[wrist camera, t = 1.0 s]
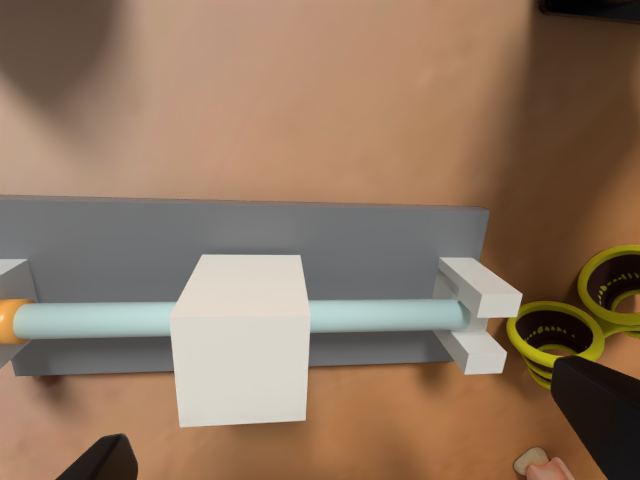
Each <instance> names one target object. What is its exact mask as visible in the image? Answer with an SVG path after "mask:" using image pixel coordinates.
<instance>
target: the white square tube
mask: <svg viewBox="0 0 640 480" xmlns="http://www.w3.org/2000/svg"><path fill="white" fill-rule="evenodd" d="M310 319H311V314H310V308H309V302H308V296H307V291H306V285H305V279H304V273H303V268H302V262H301V256H300V255H202V256H201V258H200V260H199V262H198V264H197V265H196V267H195V269H194V271H193V273H192V275H191V277H190V279H189V281H188V282H187V284H186V286H185V288H184V290H183V292H182V294H181V296H180V297H179V299H178V301H177V303H176V305H175V307H174V309H173V311H172V312H171V314H170V316H169V322H170V332H171V342H172V352H173V363H174V373H175V383H176V393H177V403H178V413H179V423H180V427H194V426H213V425H232V424H250V423H269V422H288V421H306V400H307V380H308V360H309V340H310Z"/></svg>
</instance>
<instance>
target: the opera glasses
mask: <svg viewBox="0 0 640 480" xmlns="http://www.w3.org/2000/svg"><path fill="white" fill-rule="evenodd" d="M638 254H639V255H638ZM616 256H617V257H616ZM593 270H594V271H593ZM577 288H578V292H579V296H580V298H581V300H582V302H583V303H584V305H585V306H586V307H587V308H588V309H589V310H590V311H591V312H592V313H593V316H592V317H591V316H590V315H588V314H587V313H585V312H584V311H582V310H580V309H578V308H576V307H574V306H571V305H568V304H565V303H561V302H555V301H535V302H530V303H527V304H524V305H521V306H520V307H519V310H518V314H517V317H508V320H507V323H506V331H507V334H508V337H509V339H510V341H511V343H512V344H513V346H514V347H515V348H516V349H517V350H518V351H519V352H520V353H521V355H522V357H523V359H524V360H525V362H526V363H527V366H528V370H529V373H530V375H531V376H532V377H533V379H534V380H535V381H536V382H537V383H538V384H540V385H541V386H543V387H544V388H547V389H549V390H550V385H551V378H552V371H553V364H554V361H555V360H556V359H557V358H559V357H564V356H555V355H551V354H547V353H544V352H542V351H545V350H548V349H558V350H563V351H566V352H568V353H570V354H572V355H577V356H580V357H583V358H585V359H588V360H590V361H593V362H595V361H596V360H597V359H598V358H599V357H600V356H601V355H602V352H603V350H604V347H605V340H604V339H605V338H606V337H608V336H610V335H612V334H614V333H618V332H622V333H624V334H626V335H628V336H631V337H634V338H639V339H640V312H639V313H632V314H626V313H616V312H615V308H616V306H617V304H618V303H619V302H620V301H621V300H622V299H624V298H625V297H628V296H630V295H636V294H640V245H623V246H617V247H613V248H610V249H607V250H605V251H602V252H600V253H599V254H597V255H596V256H594V257H593V258H591V259H590V260H589V261H588V262H587V263H586V264H585V266H584V267H583V269H582V270H581V272H580V275H579V278H578V287H577ZM582 321H583V322H582Z"/></svg>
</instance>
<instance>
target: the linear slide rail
mask: <svg viewBox="0 0 640 480" xmlns="http://www.w3.org/2000/svg"><path fill="white" fill-rule="evenodd" d="M489 214H490V211H489V210H487V209H485V208H483V207H479V206H438V205H396V204H355V203H314V202H273V201H232V200H191V199H150V198H109V197H68V196H27V195H0V369H1V368H2V367H3V366H4V365H5V364H6V363H7V362H8V361H10V360H11V361H12V365H13V369H14V372H15V376H38V375H67V374H96V373H125V372H155V371H174V363H173V352H172V342H171V332H170V322H169V316H170V314H171V312H172V311H173V309H174V307H175V305H176V303H177V301H178V299H179V297H180V296H181V294H182V292H183V290H184V288H185V286H186V284H187V282H188V281H189V279H190V277H191V275H192V273H193V271H194V269H195V267H196V265H197V264H198V262H199V260H200V258H201V256H202V255H300V256H301V262H302V268H303V273H304V279H305V285H306V291H307V296H308V302H309V308H310V314H311V319H310V340H309V360H308V366H330V365H359V364H388V363H418V362H447V361H455V362H456V364H457V365H458V366H459V368H460V369H461V371H462V372H463V373H464V375H465V374H490V373H502V371H503V367H504V363H505V360H506V356H507V352H506V351H505V350H504V349H503V348H502V347H501V346H500V345H499V344H498V343H497V342H496V341H495V340H494V339H493V338H492V337H491V336H490V335H489V334H488V333H487V332H486V328H487V324H488V319H489V318H495V317H517V314H518V310H519V307H520V303H521V299H522V295H523V294H522V293H520V292H519V291H518V290H516V289H515V288H513V287H512V286H511V285H509V284H508V283H506V282H505V281H504V280H502V279H501V278H500V277H498V276H497V275H495V274H494V273H493V272H491V271H490V270H489V269H487V268H486V267H484V266H483V265H482V264H480V263H479V261H480V256H481V252H482V247H483V242H484V238H485V233H486V228H487V224H488V219H489Z"/></svg>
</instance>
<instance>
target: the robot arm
mask: <svg viewBox="0 0 640 480" xmlns="http://www.w3.org/2000/svg"><path fill="white" fill-rule="evenodd" d="M539 9H540V11H541V12H542V14H545V15H554V16H564V17H574V18H584V19H594V20H604V21H614V22H624V23H634V24H640V0H553V5H552V6H551V5H550V3H549V0H539ZM550 390H551V394H552V397H553V399H554V401H555V402H556V404H557V405H558V407H559V408H560V410H561V411H562V413H563V414H564V416H565V417H566V419H567V420H568V422H569V423H570V425H571V426H572V428H573V429H574V431H575V432H576V434H577V435H578V437H579V438H580V440H581V441H582V443H583V444H584V446H585V447H586V449H587V450H588V452H589V453H590V455H591V456H592V458H593V459H594V461H595V462H596V464H597V465H598V467H599V468H600V469H601V471H602V472H603V474H604V475H605V476H606V478H607V479H608V480H640V380H638V379H636V378H633V377H631V376H628V375H626V374H623V373H621V372H618V371H616V370H613V369H611V368H608V367H606V366H603V365H601V364H598V363H596V362H593V361H590V360H588V359H585V358H583V357H580V356H577V355H570V356H564V357H559V358H557V359H556V360H555V361H554V364H553V371H552V378H551V385H550ZM137 475H138V463H137V460H136V457H135V455H134V452H133V450H132V447H131V445H130V442H129V440H128V438H127V436H126V435H125V434H121V433H120V434H115V435H109V436H104V437H102V438H100V439H99V440H98V441H97V442H95V443H94V444H93V445H92V446H91V447H90V448H89V449H88V450H87V451H86V452H85V453H84V454H82V455H81V456H80V457H79V458H78V459H77V460H76V461H75V462H74V463H73V464H72V465H71V466H69V467H68V468H67V469H66V470H65V471H64V472H63V473H62V474H61V475H60V476H59V477H58V478H56V479H55V480H137Z"/></svg>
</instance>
